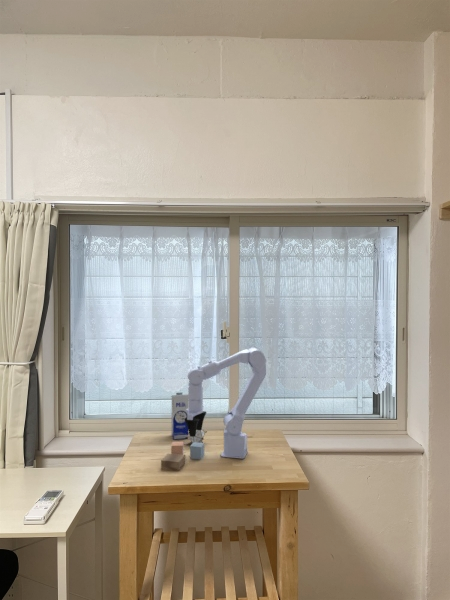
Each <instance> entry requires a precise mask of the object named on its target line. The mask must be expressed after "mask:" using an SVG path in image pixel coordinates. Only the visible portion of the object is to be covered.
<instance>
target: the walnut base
mask: <svg viewBox="0 0 450 600" xmlns="http://www.w3.org/2000/svg"><path fill="white" fill-rule="evenodd" d="M185 464H186V455H185V454H183V455H178V454H171V453H167V454H166V455H165V456H164V457H162V459H161V460H160V469H161V470H167V471H178V472H180V470H181V469H182V468H183V467H184V466H185Z"/></svg>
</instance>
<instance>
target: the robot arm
mask: <svg viewBox="0 0 450 600" xmlns="http://www.w3.org/2000/svg"><path fill="white" fill-rule="evenodd" d="M266 358H267V357H266V356H265V354H264V353H263V352H262V351H261V350H259V349H258V348H256V347H249V348H245V349H243V350H240V351H238V352H236V353H234V354H232V355H230V356H228V357H226V358H224V359H222V360H219V361H217V360H208V362H207V363H205V364H202V365H197V368H196V367H195V368H192V369H190V370H189V371H188V374H187V378H188V387H187V389H188V390H187V391H188V393H187V394H188V409H186V412H188V415H187V417H186V418H185V422H186V424H187V427H188V433H189V434H190V436H195V435H196V430H201V429H203V426H204V425H203V424H204V420H205V417H206V415H207V411H205V410H204V403H203V402H204V401H203V400H204V399H203V398H204V397H203V395H204V394H203V393H204V392H203V390H204V388H203V382H204V381H206V380H208V379H211V378H214V377H215V376H218V375H220V374H221V372H222V370H223V369H227V368H229V367H232V366H235V365H237V364H239V363H242V364H247V365H248V364H249V365H250V368H251V371H252V372H251V373H252V374H251V376H250V377H249V380H248V381H247V383H246V385H245V387H244V388H243V390H242V392H241V393H240V396H239V397H238V399H237V400H236V401H237V402H236V403H235V405H234V406H233V407H231V409H230V410H229V412H228V413H227V414H225V416H224V417H223V425H224V426H225V427H224V430H223V451H222V453H221V454H220V457H222V458H231V459H232V458H233V459H241V460H242V459H243V460H244V459H245V458H246V455H247V454H248V434H247V433H245V432H242V428H243V423H244V422H245V416H246V413H247V411H248V410H249V407H250V406H251V403H252V402H253V400H254V398H255V396H256V394H257V392H258V391H259V389H260V387H261V385H262V383H263V381H264V380H265V378H266V376H267V359H266Z"/></svg>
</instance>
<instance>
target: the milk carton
mask: <svg viewBox="0 0 450 600" xmlns="http://www.w3.org/2000/svg"><path fill="white" fill-rule="evenodd" d="M170 397H171V437H172V440H186V439H188V438H185V437H187V435H188V433H189V430H188V427H187V424H186V422H185V418H186V417H187V415H188V412H186V409H189V408H188V393H187V394H183V392H176V394H173V395H171V396H170ZM188 440H189V439H188Z"/></svg>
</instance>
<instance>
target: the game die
mask: <svg viewBox="0 0 450 600" xmlns="http://www.w3.org/2000/svg"><path fill="white" fill-rule="evenodd" d="M207 432H208V431H205V430H204V429H203V428H202V429H201V430H196V435H195V436H190V434H189V432H188V435H187V437H185V438H188V440H189V441H190V442H191V444H193V443H194V442H197V443H204V442H203V440H205V439H204V437H205V435H206V433H207Z"/></svg>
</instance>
